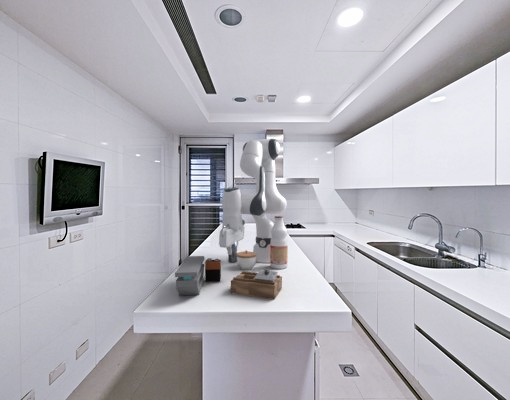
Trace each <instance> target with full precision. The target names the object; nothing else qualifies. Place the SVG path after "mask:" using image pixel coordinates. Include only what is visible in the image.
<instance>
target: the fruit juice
mask: <svg viewBox="0 0 510 400" xmlns="http://www.w3.org/2000/svg"><path fill="white" fill-rule="evenodd" d="M273 223H274V226H273V227H272V229H271V236H272V238H271V241H270V264H269V266H270V267H271V268H272V269H276V270H283V269H286V268H287V267H288V257H289V256H288V253H289V252H288V245H289V244H288V242H289V241H288V238H287V236H288V230H287V229H288V228H287V227H286V226H285V223H284V215H274V222H273Z"/></svg>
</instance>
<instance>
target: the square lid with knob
mask: <svg viewBox="0 0 510 400" xmlns="http://www.w3.org/2000/svg"><path fill="white" fill-rule="evenodd" d="M257 273H258V274H257V275H256V280H261V281H270V282H275V281H276V279H277V278H278V271H274V270H273V271H272V270H270V269H262V270H260V271H259V272H257Z"/></svg>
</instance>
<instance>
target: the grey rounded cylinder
mask: <svg viewBox="0 0 510 400" xmlns="http://www.w3.org/2000/svg"><path fill="white" fill-rule="evenodd" d="M231 249H232V254H231V255H228V254H227V263H229V264H235V263H236V264H237V253H238V247H237V240H236V241H235V243H234V244H233V245H232V247H231Z"/></svg>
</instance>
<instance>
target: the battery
mask: <svg viewBox="0 0 510 400" xmlns="http://www.w3.org/2000/svg"><path fill="white" fill-rule="evenodd" d="M221 276H222V260H221V259H219V258H215V259H213V258H212V257H208V258H207V259H206V260H205V262H204V282H206V283H207V282H208V283H210V282H211V283H215V282H216V283H217V282H218V283H220V282H221V279H222V277H221Z"/></svg>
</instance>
